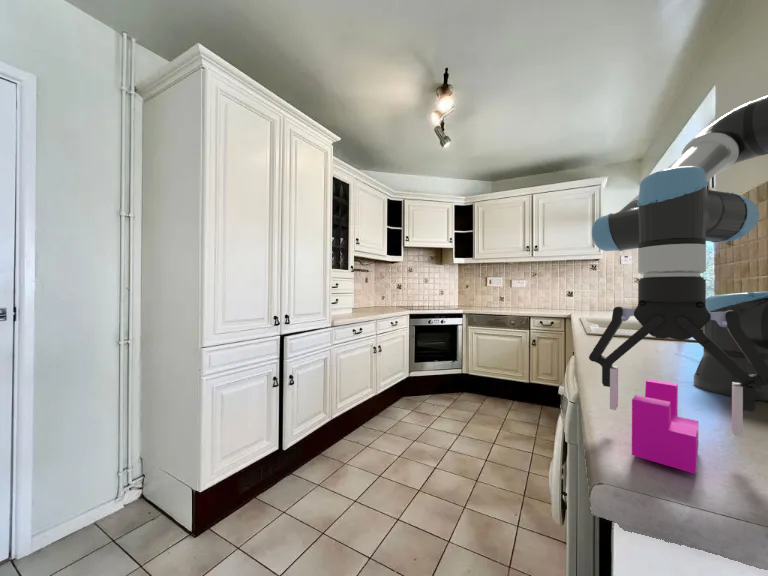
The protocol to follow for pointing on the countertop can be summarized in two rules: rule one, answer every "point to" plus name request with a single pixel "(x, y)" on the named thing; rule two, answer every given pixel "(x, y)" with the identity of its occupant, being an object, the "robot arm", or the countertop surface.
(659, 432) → the toy block
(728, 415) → the countertop surface
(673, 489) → the countertop surface
